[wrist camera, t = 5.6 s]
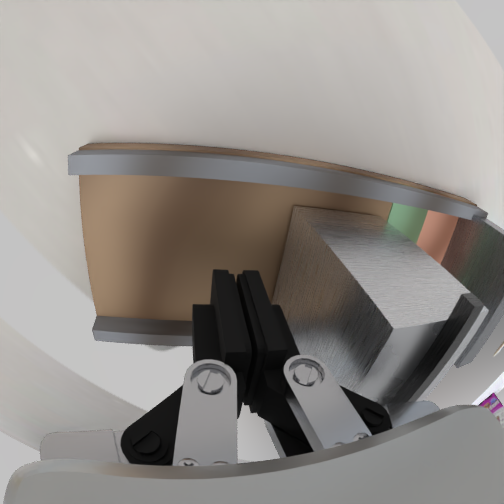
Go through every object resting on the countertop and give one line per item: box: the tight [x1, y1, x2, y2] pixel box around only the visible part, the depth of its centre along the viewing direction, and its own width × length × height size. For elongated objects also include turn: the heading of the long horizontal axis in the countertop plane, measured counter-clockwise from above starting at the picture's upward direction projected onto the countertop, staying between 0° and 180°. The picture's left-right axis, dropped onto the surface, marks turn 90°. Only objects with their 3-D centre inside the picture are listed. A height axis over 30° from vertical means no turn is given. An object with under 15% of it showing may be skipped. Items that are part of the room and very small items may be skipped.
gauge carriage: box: [272, 206, 489, 406], centre depth 11 cm, size 5×8×9 cm, turn 171°
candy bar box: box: [478, 393, 504, 428], centre depth 52 cm, size 11×5×16 cm, turn 101°
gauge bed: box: [68, 143, 488, 346], centre depth 15 cm, size 24×10×2 cm, turn 81°
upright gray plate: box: [440, 215, 504, 368], centre depth 15 cm, size 2×9×6 cm, turn 171°
